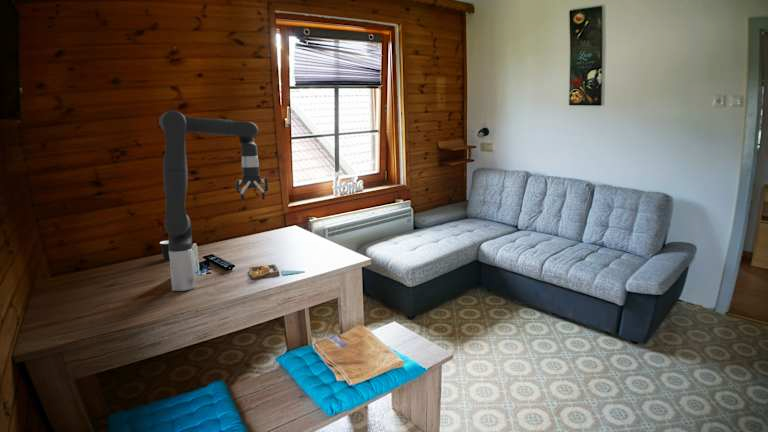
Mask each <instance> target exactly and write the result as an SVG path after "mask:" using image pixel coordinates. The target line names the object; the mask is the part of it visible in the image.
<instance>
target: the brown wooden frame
mask: <svg viewBox="0 0 768 432" xmlns="http://www.w3.org/2000/svg"><path fill="white" fill-rule="evenodd" d="M263 266H268V267H269V268H270V269H273V270H274V271H269V272H267V273H266V274H264V273H261V274H264V275H262V276H257V277H253V276H252V275H250V277H251V280H255V279H256V280H257V279H265V278H271V277H279V276H280V270H279V269H278V267H277V264H264V265H258V266H257V265H256V266H249V267H248V268H249V272H250V271H251V270H252V271H251V274H252V273H253V271H255V272H256V271H257V270H258V269H259V270H260V271H261V268H262V267H263Z"/></svg>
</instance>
